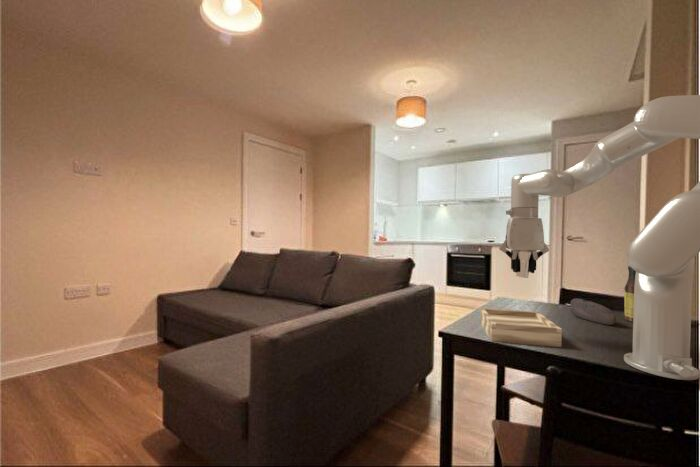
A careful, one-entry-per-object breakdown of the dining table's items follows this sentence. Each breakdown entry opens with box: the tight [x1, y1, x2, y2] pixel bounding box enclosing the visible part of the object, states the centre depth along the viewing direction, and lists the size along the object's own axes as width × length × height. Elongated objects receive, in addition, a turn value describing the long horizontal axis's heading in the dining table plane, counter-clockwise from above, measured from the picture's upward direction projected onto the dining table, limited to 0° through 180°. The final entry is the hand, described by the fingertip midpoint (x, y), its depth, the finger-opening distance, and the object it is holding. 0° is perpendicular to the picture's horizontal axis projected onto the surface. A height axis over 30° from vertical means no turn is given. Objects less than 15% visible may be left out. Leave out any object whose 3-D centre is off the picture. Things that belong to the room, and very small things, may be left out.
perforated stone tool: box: [569, 297, 617, 326], centre depth 111 cm, size 15×5×7 cm, turn 13°
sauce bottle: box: [623, 265, 636, 323], centre depth 111 cm, size 7×6×20 cm
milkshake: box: [515, 250, 532, 279], centre depth 97 cm, size 4×5×10 cm
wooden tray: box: [479, 307, 563, 348], centre depth 96 cm, size 18×18×6 cm
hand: (523, 271), depth 97 cm, fingers closed on milkshake, 4 cm apart
